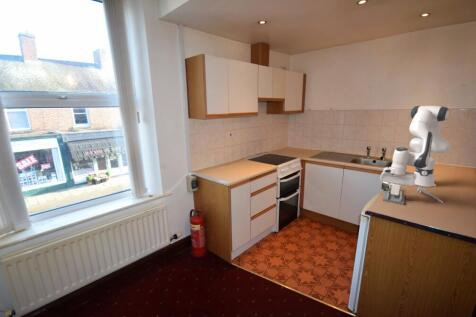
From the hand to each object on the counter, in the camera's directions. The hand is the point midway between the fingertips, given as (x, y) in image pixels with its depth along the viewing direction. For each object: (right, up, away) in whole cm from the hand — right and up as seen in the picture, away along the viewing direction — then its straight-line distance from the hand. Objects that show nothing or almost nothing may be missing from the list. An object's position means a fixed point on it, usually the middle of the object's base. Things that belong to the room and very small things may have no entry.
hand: (395, 189), depth 161 cm
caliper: (+28, -7, +4) cm, 29 cm away
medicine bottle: (+6, -4, +16) cm, 17 cm away
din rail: (0, -5, +1) cm, 6 cm away
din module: (0, -3, 0) cm, 3 cm away
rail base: (0, -7, +2) cm, 7 cm away
